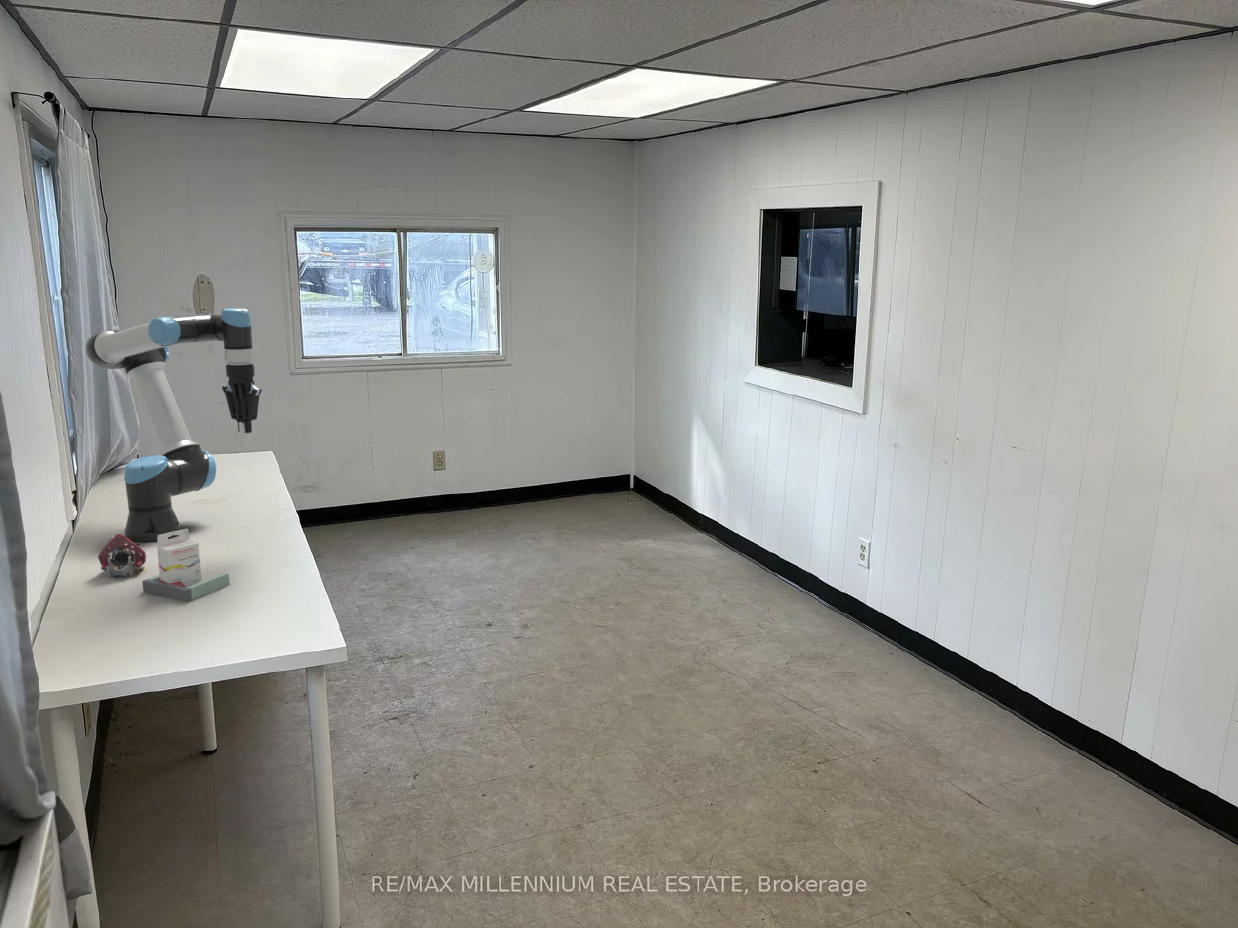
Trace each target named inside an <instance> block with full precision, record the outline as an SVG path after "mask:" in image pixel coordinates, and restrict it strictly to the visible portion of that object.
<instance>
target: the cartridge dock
mask: <svg viewBox="0 0 1238 928" xmlns="http://www.w3.org/2000/svg"><path fill="white" fill-rule="evenodd" d="M201 581H202V582H199V583H197V584H194V585H192V586H189V587H187V588H186V587H182V586H177V585H172V584H168V583H163V582H160V574H157V575H155V576H153V577H149V578H147V579H144V580H142V590H143V593H145V594H150V595H154V596H155V595H156V596H160V597H163V598H168V599H173V600H175V601H176V600H178V601H182V602H186V603H188V602H190V601H193V600H195V599H197V598H199V597H202V596H204V595H207V594H210V593H212V592H214V591H216V590H219V589H222V588H224V587H226V586H228V585H230V574H229V572H223V573H222V572H221V573H220V574H217V575H215V576H211V577H210V578H207V579H205V580H201Z"/></svg>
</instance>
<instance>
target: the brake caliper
mask: <svg viewBox="0 0 1238 928" xmlns="http://www.w3.org/2000/svg"><path fill="white" fill-rule="evenodd" d="M110 553H111V555H110ZM97 559H98V561H99V564H100V570H102V571H103V572H106V573H107V574H108V575H109V578H110V579H119V578H130V577H131V578H132V577H133V576H134V575H135V574H136V573H137V576H142V575H144V573H145V572H147V569H148V565H147V564H145V563H146V561H147V554H146V551H145V550H143V548H141V547H140V546H139V545H137V544H136V543H135V542H134V541H130V540H129V539H128V538H126V537H125V535H124V534H122V533H117V534H115V535H114V536H112V537H110V541H109V542H108V543H107V544H106V545H105V546H104V548H103V549H102V550H100V552H99V554H98V556H97ZM139 569H140V570H139ZM138 570H139V572H138Z"/></svg>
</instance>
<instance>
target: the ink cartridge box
mask: <svg viewBox="0 0 1238 928" xmlns="http://www.w3.org/2000/svg"><path fill="white" fill-rule="evenodd" d="M189 530H190V529H188V528H184V529H181V530H178V531H174V532H169V533H165V534H161V535H158V536H157V541H156V542H157V547H156V550H157V561H158V570H159V571H158V572H159V575H160V582H163V583H168V584H172V585H177V586H182V587H186V588H187V587H189V586H192V585H194V584H197V583H199V582H202V581H203V580H202V571H201V559H200V546H199V544H200V543H199V542H197V541H194V540H192V539H190V538H189V537H190V536H189V535H190V534H189ZM172 535H176V536H177V537H171V536H172ZM168 537H171V538H168Z"/></svg>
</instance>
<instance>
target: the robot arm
mask: <svg viewBox="0 0 1238 928" xmlns="http://www.w3.org/2000/svg"><path fill="white" fill-rule="evenodd" d="M220 313H221V314H214V313H211V312H208V313H200V314H197V315H196V314H195V315H193V314H192V315H181V316H162V317H155V318H153V319H151V321H150V322H148V323H144V324H140V325H137V326H134V327H129V328H126V329H119V330H116V329H115V330H105V331H99V332H97V333H95V334H93V335H91V336H90V337H89V338H88V339H87V341H86V344H85V353H86V356H87V358H88V359H89V361H90V362H91V363H92V364H94V365H96V366H97V367H100V368H102V369H106V370H107V369H108V370H119V369H124V371H125V373H126V375H127V377H129V378H130V379H132V380H134V381H135V383H136V386H137V388H138V391H139V394H140V396H141V398H142V400H143V403H144V405H145V408H146V411H147V414H148V416H149V418H150V421H151V423H152V425H153V428H154V430H155V432H156V435H157V438H158V440H159V442H160V445H161V448H162V452H161V454H156V455H155V454H154V455H149V456H148V455H146V456H141V457H139V458H136V459H132V460H131V461H129V462H128V463H127V464H126V465H125V467H124V479H123V481H124V482H125V489H126V491H125V492H126V500H127V508H128V509H127V510H128V515H127V518H126V523H125V528H124V530H123V531H124V533H123V534H124V536H125V537H126V538H128V539H129V540H130V541H131V542H139V543H140V542H141V543H145V542H148V543H149V542H155V541H156V542H158V541H157V536H158V535H161V534H165V533H169V532H174V531H178V530H182V529H181V523H180V522H179V519H178V517H177V515H176V513H175V511H174V509H173V505H172V497H174V496H180V495H183V494H186V493H191V492H199V491H200V490H203V489H206V488H208V487H210V486H212V484H213V483H214V481H215V480H216V475H217V464H216V460H215V458H214V456H213V455H212V454H211V452H209V451H207V450H202V448H201V446H200V443H198V442H196V441H194V440H192V437H191V435H190V433H189V429H188V427H187V425H186V423H185V420H184V417H183V415H182V414H181V410H180V408H179V405H178V404H177V403H178V402H177V401H176V398H175V396H174V394H173V391H172V389H171V386H170V384H169V381H168V379H167V376H166V374H165V369H166V368H167V361H168V360H169V357H170V353H169V351H170V349H169V347H170V346H174V345H178V344H179V345H180V344H186V343H187V344H189V343H199V342H200V343H201V342H212V341H215V342H223V348H224V349H223V350H224V362H225V363H227V364H226V365H225V372H226V377H227V378H228V381H227V384H226V385H223V386H222V387H221V389H222V392H224V395H225V399H226V403H227V406H228V410H229V413H230V417H231V419H232V420H235V421H236V422H237V431H238V433H239V441H240V445H243V446H245V445H248V444H249V445H250V444H252V443H253V442H252V432H253V429H252V427H253V425H252V421H256V420H257V419H258V412H259V402H260V396H261V393H262V391H263V389H262V388H261V387H259V388H258V387H257V386H256V385H255V382H254V377H255V364H253V362H254V351H253V349H254V348H253V335H252V321H251V316H250V315H251V314H250V311H249V310H248V309H246V308H224V309H222V310H221V312H220ZM175 536H177V535H172V536H171V537H168V539H172V538H175Z"/></svg>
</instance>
